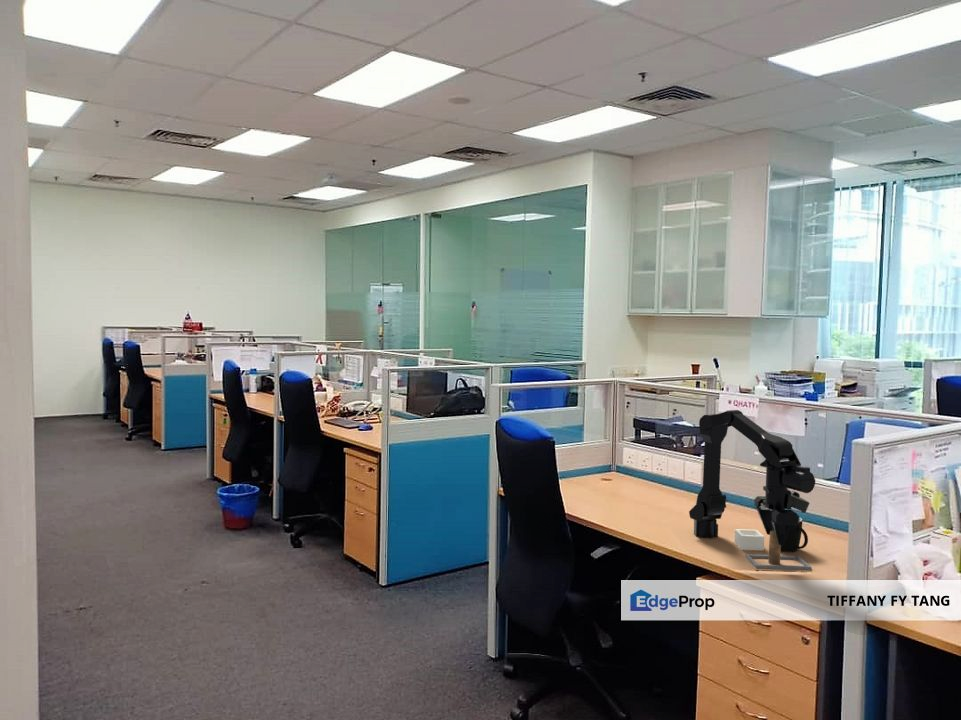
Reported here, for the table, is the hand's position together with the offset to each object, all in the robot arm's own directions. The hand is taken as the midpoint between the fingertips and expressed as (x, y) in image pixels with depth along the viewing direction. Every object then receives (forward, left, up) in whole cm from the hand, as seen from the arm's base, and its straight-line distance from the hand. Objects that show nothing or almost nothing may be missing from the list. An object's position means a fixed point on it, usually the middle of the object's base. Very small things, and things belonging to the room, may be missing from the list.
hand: (774, 539), depth 195 cm
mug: (+9, +12, -8) cm, 17 cm away
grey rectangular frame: (+1, 0, -8) cm, 8 cm away
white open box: (-2, +14, -8) cm, 16 cm away
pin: (0, 0, -7) cm, 7 cm away
